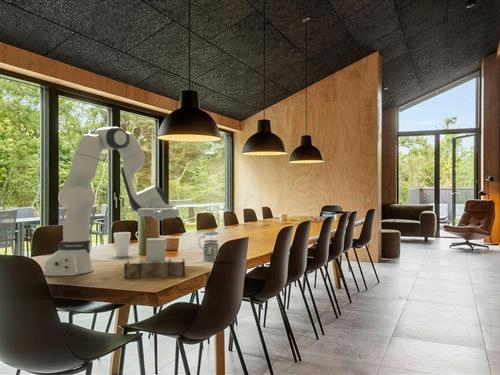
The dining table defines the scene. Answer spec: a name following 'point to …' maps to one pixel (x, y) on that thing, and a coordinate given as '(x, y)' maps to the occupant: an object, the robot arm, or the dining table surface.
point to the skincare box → (155, 249)
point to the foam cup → (122, 243)
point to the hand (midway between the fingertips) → (157, 213)
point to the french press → (210, 246)
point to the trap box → (154, 269)
